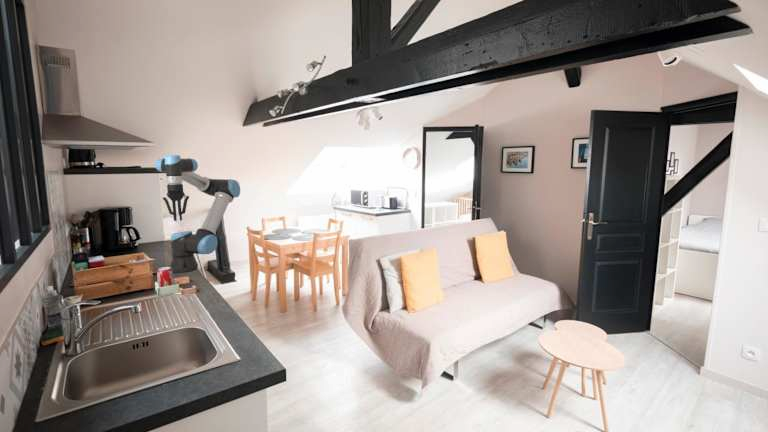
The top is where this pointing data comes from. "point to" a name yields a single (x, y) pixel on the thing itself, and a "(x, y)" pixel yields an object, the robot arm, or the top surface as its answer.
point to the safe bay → (167, 289)
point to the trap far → (182, 280)
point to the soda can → (165, 277)
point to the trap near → (188, 290)
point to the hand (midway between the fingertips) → (178, 226)
